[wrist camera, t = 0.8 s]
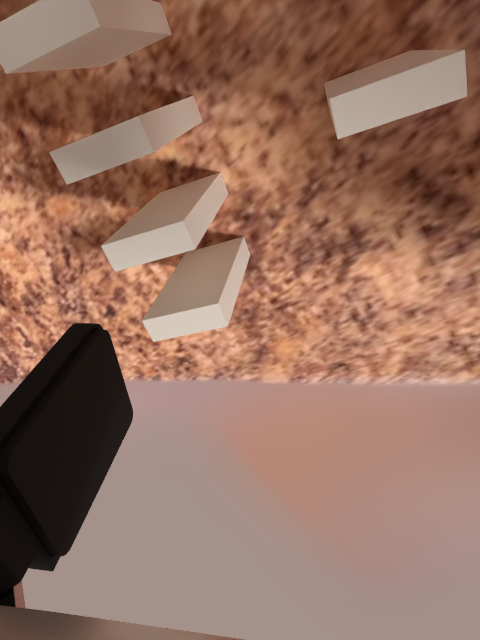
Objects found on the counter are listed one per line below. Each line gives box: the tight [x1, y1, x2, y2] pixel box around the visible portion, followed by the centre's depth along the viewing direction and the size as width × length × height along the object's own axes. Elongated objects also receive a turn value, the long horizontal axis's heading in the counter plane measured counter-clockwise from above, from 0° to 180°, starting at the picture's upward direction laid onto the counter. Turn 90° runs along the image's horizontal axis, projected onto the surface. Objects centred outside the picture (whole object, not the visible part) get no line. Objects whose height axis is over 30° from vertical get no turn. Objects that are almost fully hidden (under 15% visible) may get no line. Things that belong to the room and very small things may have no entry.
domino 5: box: [324, 50, 467, 139], centre depth 20 cm, size 2×5×10 cm, turn 109°
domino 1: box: [0, 0, 172, 74], centre depth 21 cm, size 2×5×10 cm, turn 109°
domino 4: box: [142, 236, 250, 342], centre depth 28 cm, size 2×5×10 cm, turn 109°
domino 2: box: [49, 95, 203, 185], centre depth 23 cm, size 2×5×10 cm, turn 110°
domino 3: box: [101, 172, 228, 272], centre depth 25 cm, size 2×5×10 cm, turn 110°
